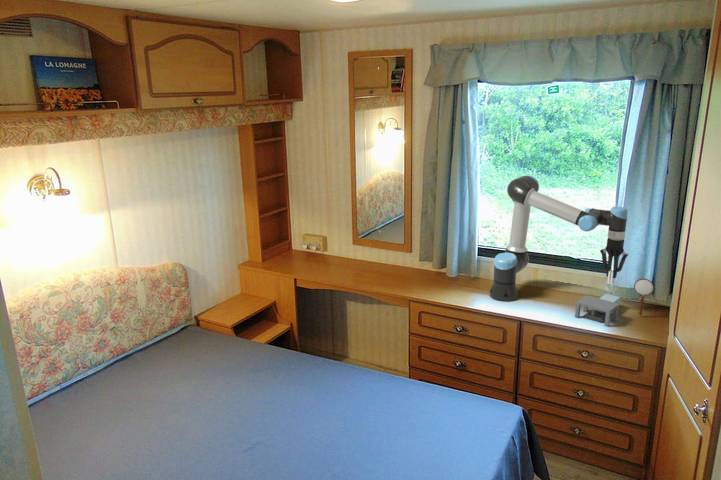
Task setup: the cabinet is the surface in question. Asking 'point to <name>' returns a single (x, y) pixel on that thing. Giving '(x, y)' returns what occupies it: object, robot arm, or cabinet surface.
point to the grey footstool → (597, 308)
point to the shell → (609, 298)
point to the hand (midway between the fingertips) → (610, 283)
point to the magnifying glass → (643, 290)
